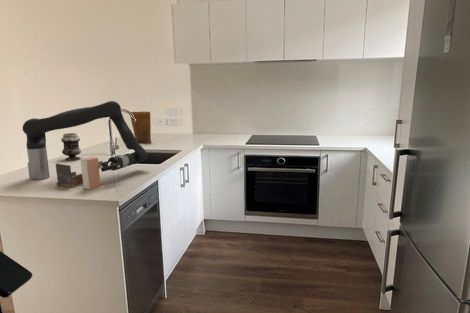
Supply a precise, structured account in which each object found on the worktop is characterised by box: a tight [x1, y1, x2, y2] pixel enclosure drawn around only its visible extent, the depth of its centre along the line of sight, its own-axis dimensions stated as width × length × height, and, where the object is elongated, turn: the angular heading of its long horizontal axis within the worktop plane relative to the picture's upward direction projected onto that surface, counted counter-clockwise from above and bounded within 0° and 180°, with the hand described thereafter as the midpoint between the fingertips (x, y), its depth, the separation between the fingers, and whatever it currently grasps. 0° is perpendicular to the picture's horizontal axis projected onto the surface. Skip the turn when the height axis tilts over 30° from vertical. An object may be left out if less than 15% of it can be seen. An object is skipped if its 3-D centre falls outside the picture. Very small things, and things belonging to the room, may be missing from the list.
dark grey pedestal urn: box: [60, 132, 82, 162], centre depth 234 cm, size 12×12×18 cm
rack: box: [55, 163, 83, 189], centre depth 178 cm, size 12×10×12 cm
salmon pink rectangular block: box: [80, 156, 101, 190], centre depth 172 cm, size 7×4×15 cm, turn 155°
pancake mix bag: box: [129, 111, 152, 145], centre depth 294 cm, size 7×19×28 cm, turn 72°
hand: (95, 168), depth 174 cm, fingers open, 8 cm apart
